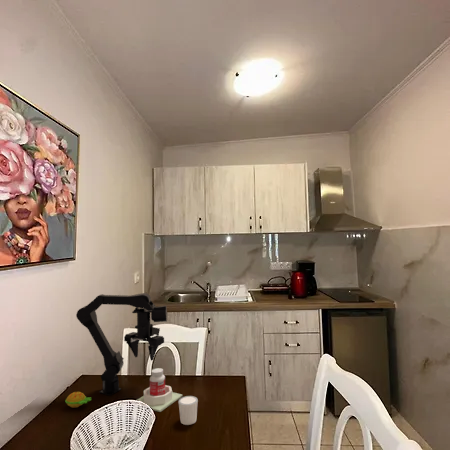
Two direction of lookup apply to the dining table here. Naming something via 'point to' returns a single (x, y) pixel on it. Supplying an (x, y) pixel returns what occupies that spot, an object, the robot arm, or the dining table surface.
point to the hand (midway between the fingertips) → (144, 358)
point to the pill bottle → (157, 382)
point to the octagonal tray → (160, 399)
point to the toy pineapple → (76, 399)
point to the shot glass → (188, 409)
